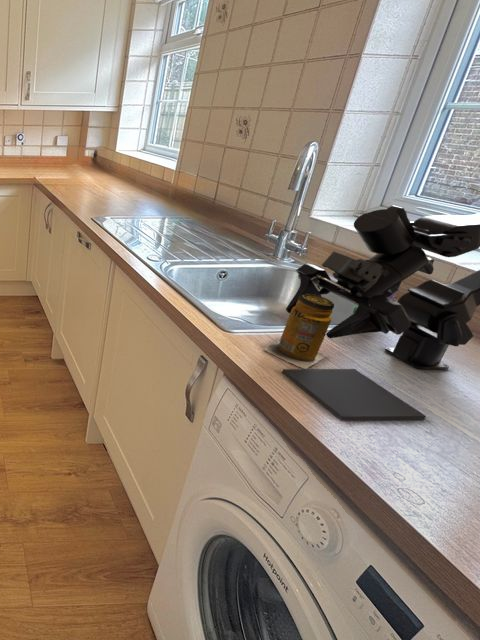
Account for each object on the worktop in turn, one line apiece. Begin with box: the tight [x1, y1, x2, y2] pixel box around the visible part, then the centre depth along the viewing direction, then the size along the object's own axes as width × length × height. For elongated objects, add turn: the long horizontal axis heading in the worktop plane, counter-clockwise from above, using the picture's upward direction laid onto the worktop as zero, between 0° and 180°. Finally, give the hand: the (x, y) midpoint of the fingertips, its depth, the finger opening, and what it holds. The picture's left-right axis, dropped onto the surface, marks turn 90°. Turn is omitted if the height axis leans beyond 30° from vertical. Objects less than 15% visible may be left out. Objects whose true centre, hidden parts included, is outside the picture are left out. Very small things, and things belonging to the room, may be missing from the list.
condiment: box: [263, 294, 335, 369], centre depth 78 cm, size 7×8×12 cm
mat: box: [281, 368, 427, 422], centre depth 69 cm, size 14×12×1 cm
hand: (306, 323), depth 77 cm, fingers open, 9 cm apart
